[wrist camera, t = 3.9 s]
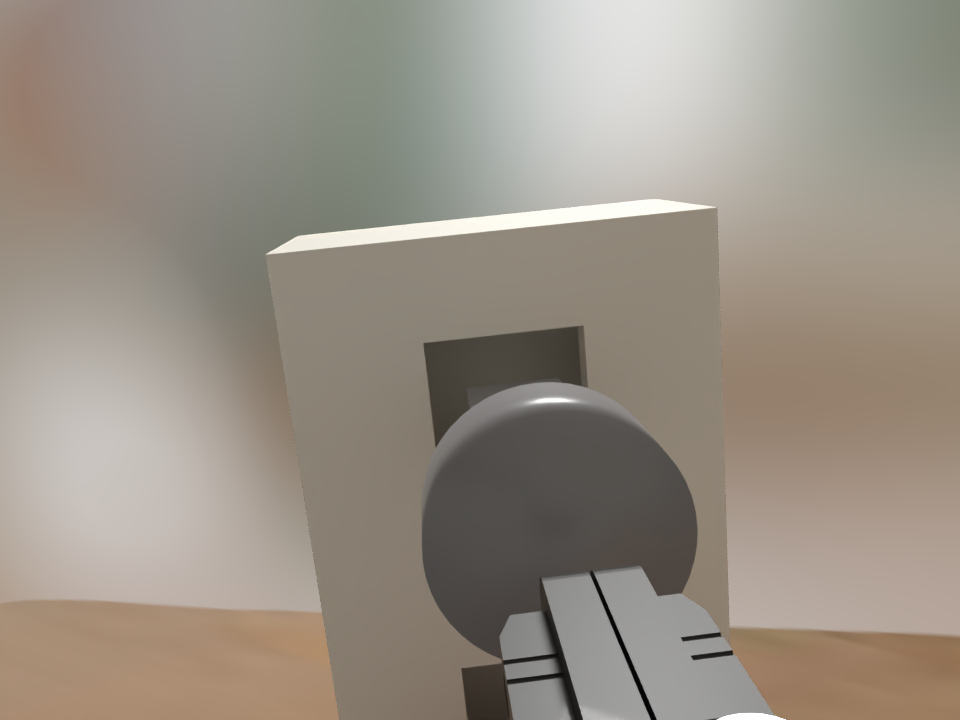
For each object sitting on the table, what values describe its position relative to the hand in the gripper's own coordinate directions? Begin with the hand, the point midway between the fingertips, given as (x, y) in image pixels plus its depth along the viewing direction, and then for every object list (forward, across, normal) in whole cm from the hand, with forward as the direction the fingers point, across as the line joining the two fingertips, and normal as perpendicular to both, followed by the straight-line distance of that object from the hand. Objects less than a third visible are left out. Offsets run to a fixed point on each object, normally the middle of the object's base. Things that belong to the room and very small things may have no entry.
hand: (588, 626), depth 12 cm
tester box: (+14, 0, +17) cm, 22 cm away
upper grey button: (+6, 0, +2) cm, 7 cm away
